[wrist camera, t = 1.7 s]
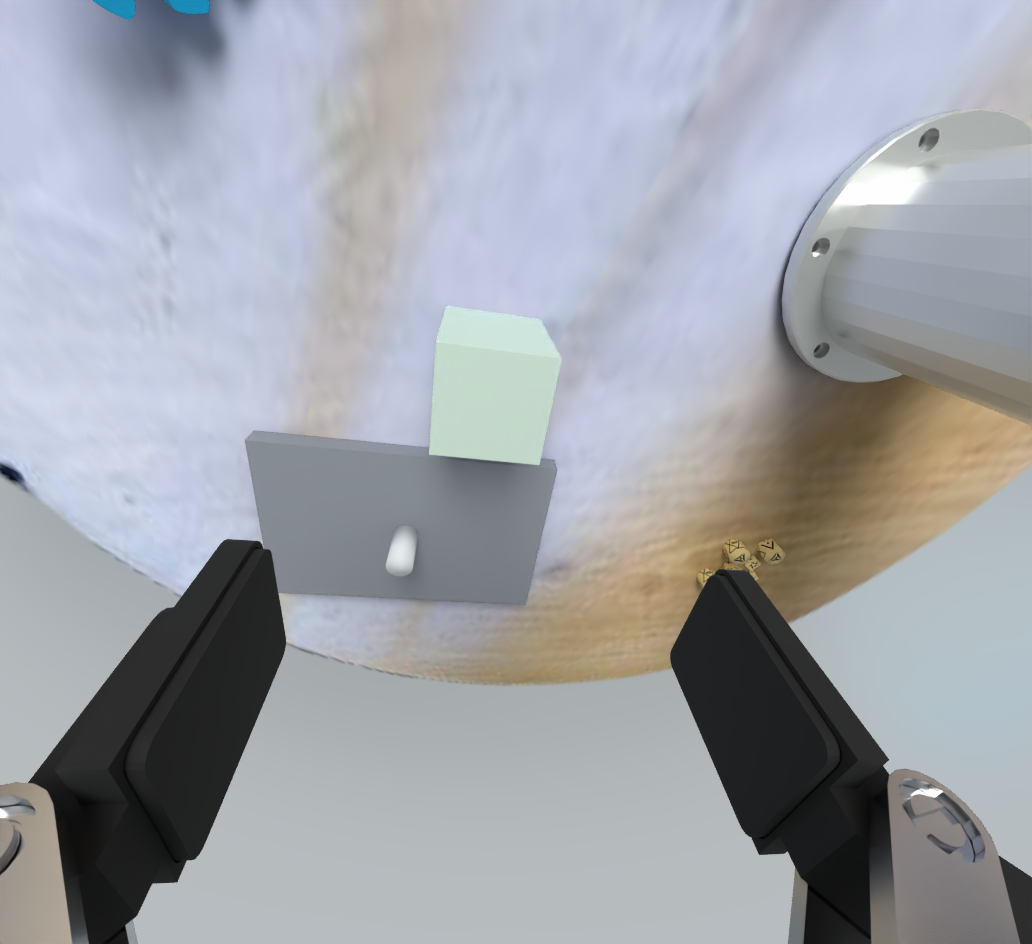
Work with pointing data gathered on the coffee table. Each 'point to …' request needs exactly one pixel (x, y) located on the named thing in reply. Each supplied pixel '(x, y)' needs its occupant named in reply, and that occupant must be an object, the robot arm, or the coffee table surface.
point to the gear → (189, 3)
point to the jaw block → (492, 386)
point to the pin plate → (397, 519)
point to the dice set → (745, 558)
